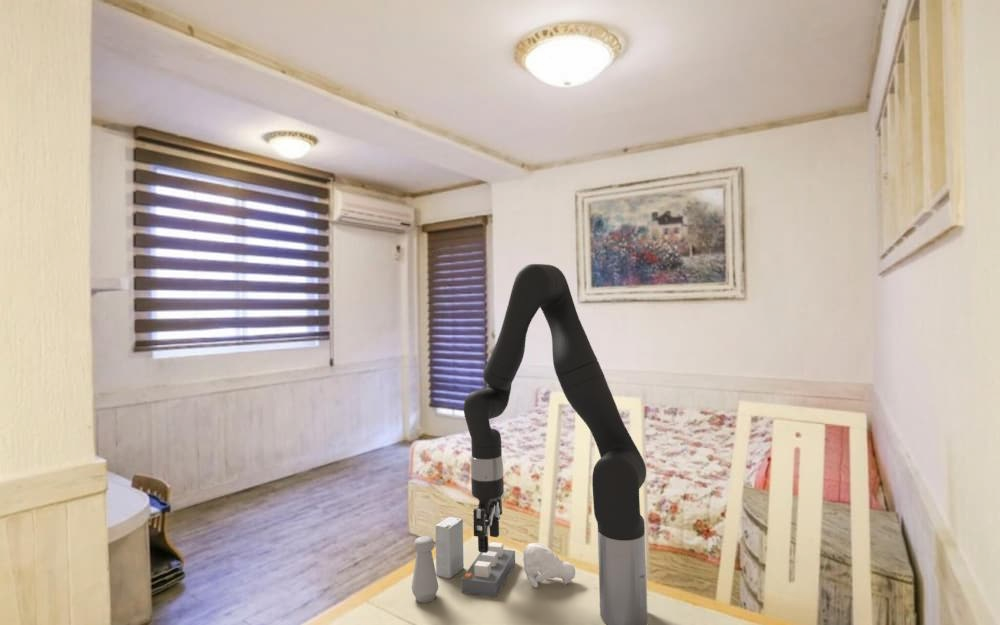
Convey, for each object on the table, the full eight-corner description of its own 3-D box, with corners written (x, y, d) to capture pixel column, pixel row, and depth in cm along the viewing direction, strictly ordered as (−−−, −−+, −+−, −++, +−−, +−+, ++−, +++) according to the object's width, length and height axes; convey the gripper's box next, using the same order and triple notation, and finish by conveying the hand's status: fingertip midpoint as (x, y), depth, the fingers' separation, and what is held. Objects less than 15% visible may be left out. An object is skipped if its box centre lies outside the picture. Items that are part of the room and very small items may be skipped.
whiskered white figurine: (525, 537, 124) (576, 543, 122) (523, 572, 124) (574, 580, 122) (522, 549, 117) (576, 556, 116) (520, 586, 118) (574, 594, 116)
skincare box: (449, 564, 129) (448, 515, 129) (464, 568, 127) (463, 518, 127) (435, 576, 124) (433, 524, 124) (451, 580, 122) (449, 527, 122)
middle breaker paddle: (497, 562, 123) (497, 552, 123) (494, 566, 121) (494, 556, 121) (484, 560, 124) (484, 550, 124) (481, 565, 122) (481, 554, 122)
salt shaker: (433, 606, 111) (431, 545, 111) (408, 604, 112) (406, 543, 112) (442, 592, 117) (440, 533, 117) (417, 590, 118) (416, 532, 118)
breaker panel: (515, 562, 129) (514, 541, 129) (496, 597, 114) (495, 572, 114) (484, 559, 132) (483, 537, 132) (461, 592, 116) (461, 568, 116)
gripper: (493, 485, 115) (495, 559, 115) (510, 466, 129) (512, 532, 129) (461, 483, 117) (463, 555, 117) (481, 465, 131) (483, 530, 131)
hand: (489, 543), depth 123 cm, fingers open, 8 cm apart
